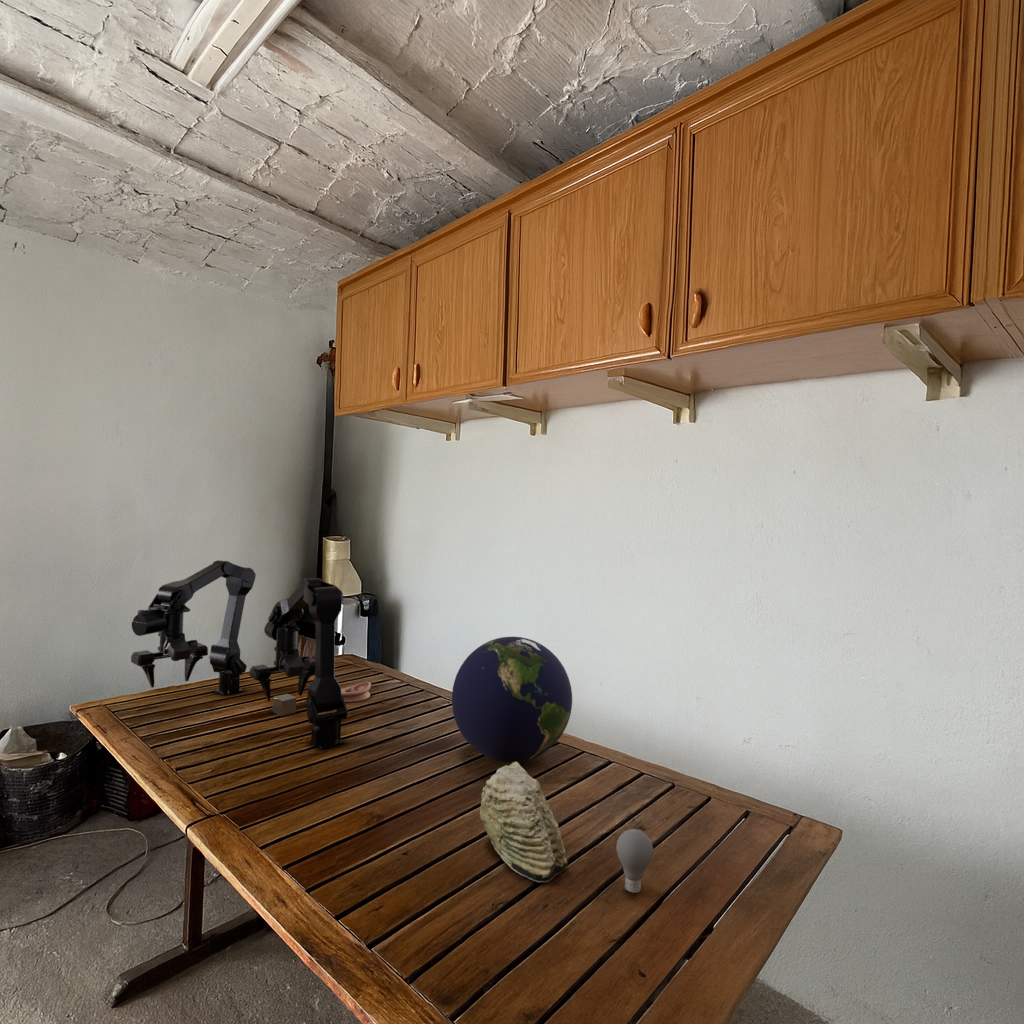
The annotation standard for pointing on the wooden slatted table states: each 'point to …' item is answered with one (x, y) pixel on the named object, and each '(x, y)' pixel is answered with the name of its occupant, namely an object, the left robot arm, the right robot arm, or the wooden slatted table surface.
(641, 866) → the light bulb
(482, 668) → the globe
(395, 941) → the wooden slatted table surface
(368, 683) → the anatomical model
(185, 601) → the left robot arm
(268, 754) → the wooden slatted table surface
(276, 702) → the block
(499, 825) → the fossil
